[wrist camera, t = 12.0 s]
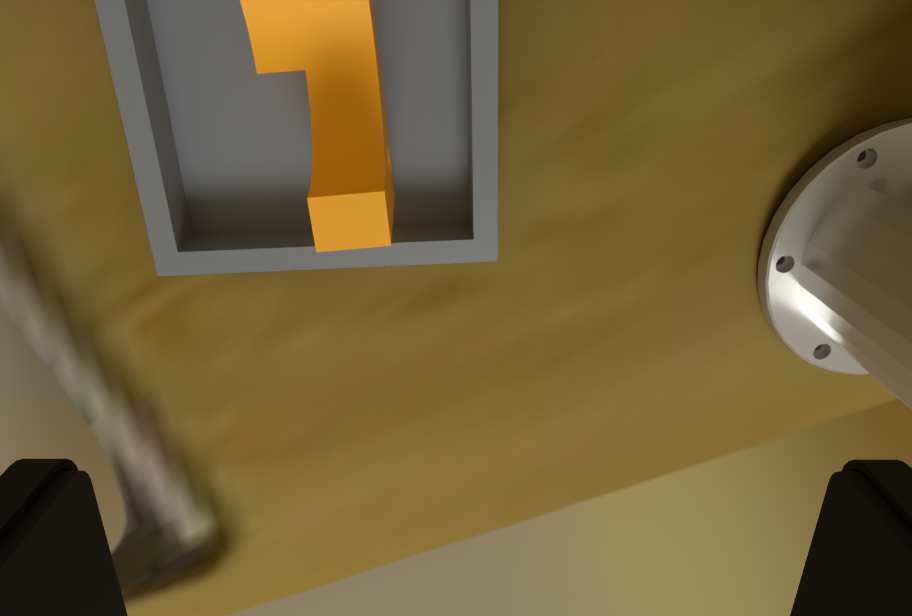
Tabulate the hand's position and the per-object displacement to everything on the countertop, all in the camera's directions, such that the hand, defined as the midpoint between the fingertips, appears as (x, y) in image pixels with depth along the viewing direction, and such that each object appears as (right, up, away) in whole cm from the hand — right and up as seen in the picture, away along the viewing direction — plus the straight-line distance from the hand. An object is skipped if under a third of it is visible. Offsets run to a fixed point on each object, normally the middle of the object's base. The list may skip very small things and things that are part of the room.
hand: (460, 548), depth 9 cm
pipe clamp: (-5, +13, +18) cm, 23 cm away
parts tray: (-6, +14, +19) cm, 24 cm away
